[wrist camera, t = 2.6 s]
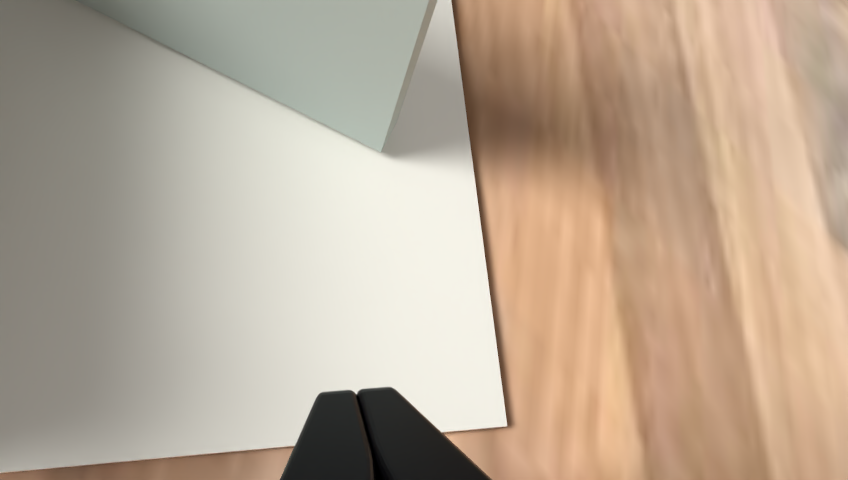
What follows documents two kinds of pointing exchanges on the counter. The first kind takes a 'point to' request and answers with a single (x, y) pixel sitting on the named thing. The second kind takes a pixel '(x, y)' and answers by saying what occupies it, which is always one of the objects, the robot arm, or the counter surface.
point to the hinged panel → (299, 51)
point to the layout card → (222, 251)
